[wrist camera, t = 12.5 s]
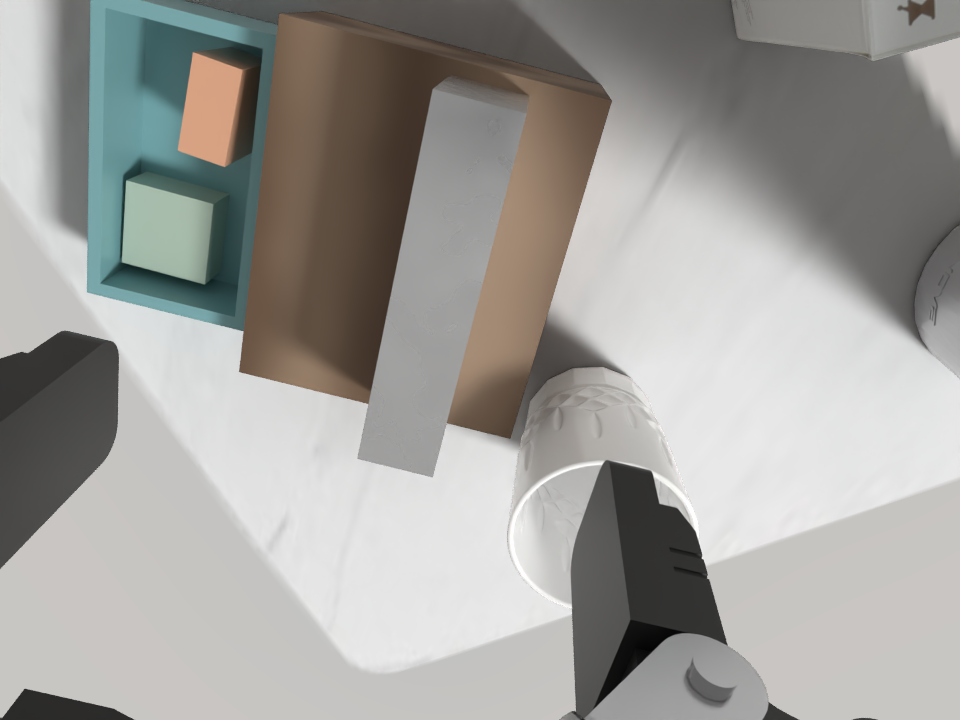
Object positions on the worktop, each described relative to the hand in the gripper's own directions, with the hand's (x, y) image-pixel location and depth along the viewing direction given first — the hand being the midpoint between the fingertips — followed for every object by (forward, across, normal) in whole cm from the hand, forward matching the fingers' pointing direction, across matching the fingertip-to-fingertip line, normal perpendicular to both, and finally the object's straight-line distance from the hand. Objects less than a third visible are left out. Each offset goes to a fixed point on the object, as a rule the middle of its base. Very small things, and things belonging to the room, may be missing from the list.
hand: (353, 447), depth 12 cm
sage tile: (+23, +13, +6) cm, 27 cm away
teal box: (+25, +12, +3) cm, 28 cm away
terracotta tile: (+23, +10, 0) cm, 25 cm away
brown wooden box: (+25, +2, +3) cm, 25 cm away
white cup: (+26, -9, +12) cm, 30 cm away
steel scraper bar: (+19, 0, +3) cm, 20 cm away
